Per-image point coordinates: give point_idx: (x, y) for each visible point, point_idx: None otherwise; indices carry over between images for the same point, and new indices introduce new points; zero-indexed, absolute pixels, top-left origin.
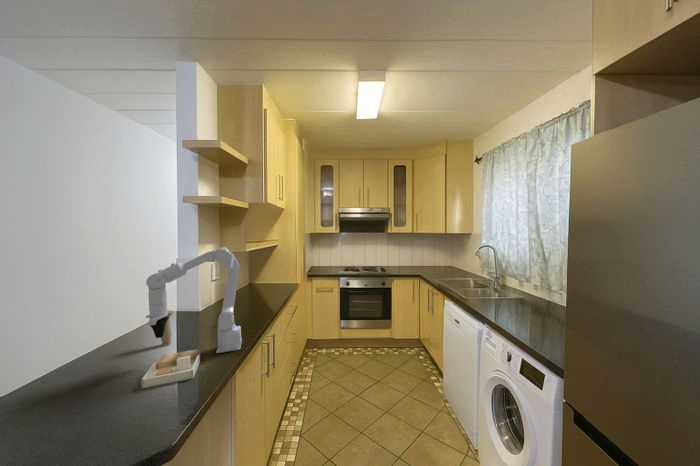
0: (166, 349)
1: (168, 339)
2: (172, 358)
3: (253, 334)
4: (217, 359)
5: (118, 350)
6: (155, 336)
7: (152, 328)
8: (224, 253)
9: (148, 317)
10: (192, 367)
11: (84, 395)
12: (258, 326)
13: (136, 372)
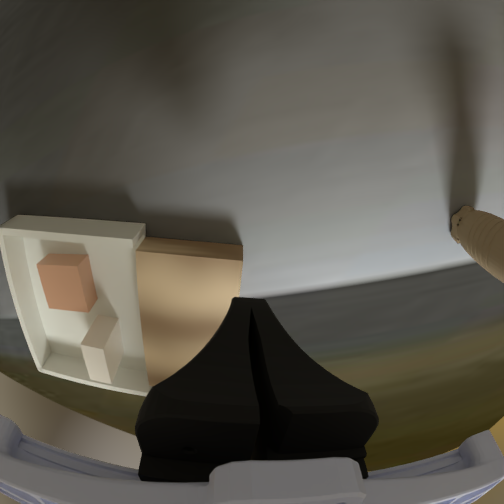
0: (402, 231)
1: (464, 247)
2: (167, 309)
3: None
4: None
5: (501, 33)
6: (232, 302)
7: (194, 357)
8: None
9: (206, 491)
10: (52, 372)
11: (57, 14)
12: (367, 466)
13: (166, 138)
